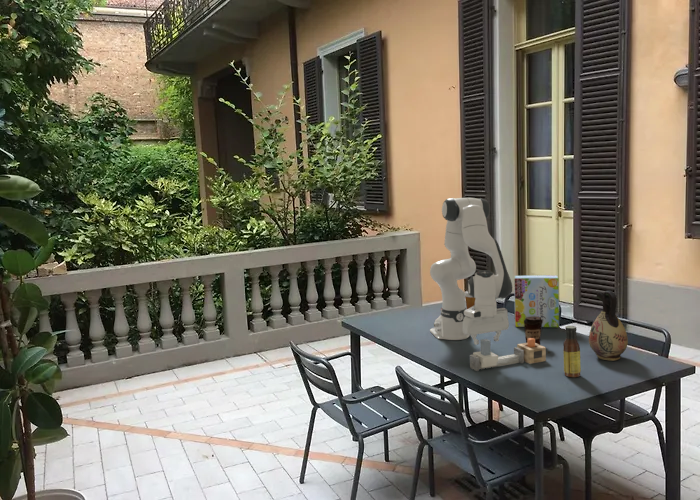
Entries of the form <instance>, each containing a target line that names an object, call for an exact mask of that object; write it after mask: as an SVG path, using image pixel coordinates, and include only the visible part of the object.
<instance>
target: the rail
mask: <svg viewBox="0 0 700 500" xmlns="http://www.w3.org/2000/svg"><path fill="white" fill-rule="evenodd" d="M524 363H525V361H524V350H522V349H520V348H518V347H517V346H516V347H513V354H507V355H500V356H498V362H497V365H496V366H490V367H484V368H482V367H481V362H479V357H477V356H475V355H473V353H472V354H469V368H470V369H472V370H473V369H474V370H473V371H475V372H480V371H479V369H481V370H484V369H485V368H486V369H492V368H497V367H502V366H503V367H504V366H508V365H514V364H515V365H516V364H524ZM491 367H492V368H491Z"/></svg>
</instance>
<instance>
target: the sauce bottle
mask: <svg viewBox="0 0 700 500" xmlns="http://www.w3.org/2000/svg"><path fill="white" fill-rule="evenodd" d="M562 346H563V350H562V351H563V352H562V353H563V372H564V375H565V376H566V377H568V378H579V377H580V376H581V368H582V367H581V348H580V343H579V341H578V339H577V327H576V326H575V325H566V326H565V339H564V341H563V345H562Z"/></svg>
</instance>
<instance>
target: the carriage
mask: <svg viewBox="0 0 700 500" xmlns="http://www.w3.org/2000/svg"><path fill="white" fill-rule="evenodd" d="M479 345H480V348H479V349H480V350H479V351H473V353H472V354H473V355H475V356H477V357H479V362H481V367H482V368H484V367H490V366H496V365H497V362H498V357H499V355H498V354H496V353H494V352H493V351H491V350H492V349H491V345H492V344H491V340H490V339H488V338H484V339H480V340H479Z"/></svg>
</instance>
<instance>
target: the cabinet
mask: <svg viewBox="0 0 700 500" xmlns="http://www.w3.org/2000/svg"><path fill="white" fill-rule="evenodd" d="M516 344H517V345H516V347H518V348H520V349H522V350H524V363H527V364H530V365H531V364H536V363H541V362H546V361H547V359H546V354H547V353H546V352H547V351H546V349H547V348H546V347H545V346H544V345H541V344H540V345H539V344H537V343H535V347H532V348H530V347H527V343H526V342H523V343H516Z"/></svg>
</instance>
